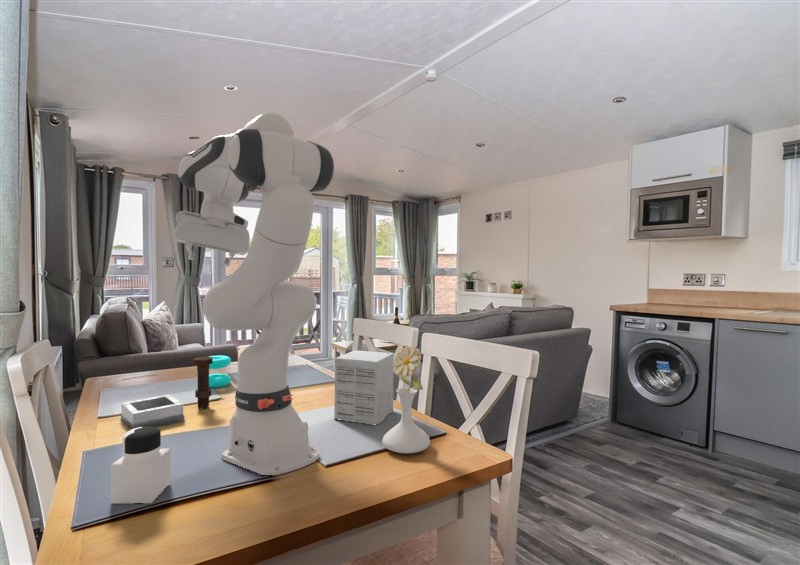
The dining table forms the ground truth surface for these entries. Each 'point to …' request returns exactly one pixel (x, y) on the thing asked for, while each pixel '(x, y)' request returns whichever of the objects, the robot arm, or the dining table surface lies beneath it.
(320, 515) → the dining table surface
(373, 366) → the supplement box
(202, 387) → the bolt
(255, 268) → the robot arm
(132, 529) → the dining table surface
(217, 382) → the donuts
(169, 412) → the docking socket
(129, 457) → the medicine bottle
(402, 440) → the flower in vase
